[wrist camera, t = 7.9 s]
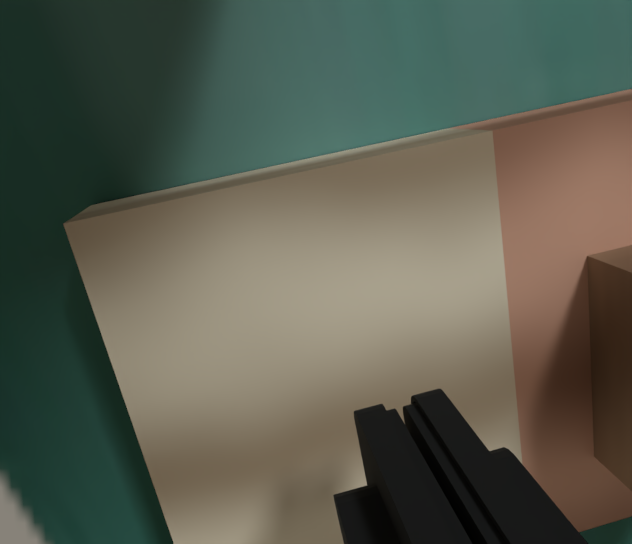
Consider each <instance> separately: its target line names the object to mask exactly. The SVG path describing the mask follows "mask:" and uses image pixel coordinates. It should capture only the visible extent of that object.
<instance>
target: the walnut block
mask: <svg viewBox="0 0 632 544" xmlns="http://www.w3.org/2000/svg"><path fill="white" fill-rule="evenodd" d="M587 265H588V294H589V323H590V353H591V382H592V411H593V440H594V457H595V458H596V459H597V460H598V461H599V462H600V463H601V464H603V465H604V466H605V467H606V468H607V469H608V470H609V471H610V472H611V473H612V474H613V475H615V476H616V477H617V478H618V479H619V480H620V481H621V482H622V483H623V484H624V485H625V486H626V487H628V488H629V489H630V490H631V491H632V245H630V246H626V247H621V248H617V249H613V250H609V251H605V252H601V253H596V254H592V255H588V256H587Z"/></svg>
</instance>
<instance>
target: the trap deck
mask: <svg viewBox="0 0 632 544" xmlns="http://www.w3.org/2000/svg"><path fill="white" fill-rule="evenodd" d="M63 225H64V228H65V231H66V234H67V236H68V239H69V242H70V245H71V248H72V251H73V254H74V257H75V260H76V262H77V265H78V268H79V271H80V274H81V277H82V280H83V283H84V286H85V288H86V291H87V294H88V297H89V300H90V303H91V306H92V309H93V312H94V314H95V317H96V320H97V323H98V326H99V329H100V332H101V335H102V338H103V340H104V343H105V346H106V349H107V352H108V355H109V358H110V361H111V364H112V366H113V369H114V372H115V375H116V378H117V381H118V384H119V387H120V390H121V392H122V395H123V398H124V401H125V404H126V407H127V410H128V413H129V416H130V418H131V421H132V424H133V427H134V430H135V433H136V436H137V439H138V442H139V444H140V447H141V450H142V453H143V456H144V459H145V462H146V465H147V468H148V470H149V473H150V476H151V479H152V482H153V485H154V488H155V491H156V494H157V496H158V499H159V502H160V505H161V508H162V511H163V514H164V517H165V520H166V522H167V525H168V528H169V531H170V534H171V537H172V540H173V543H174V544H344V542H343V537H342V533H341V529H340V525H339V520H338V516H337V511H336V507H335V502H334V496H333V495H334V494H338V493H342V492H345V491H349V490H352V489H356V488H359V487H363V486H367V482H366V476H365V471H364V466H363V461H362V456H361V451H360V446H359V440H358V435H357V430H356V425H355V420H354V411H355V410H359V409H363V408H367V407H371V406H374V405H378V404H383V405H384V407H385V409H386V411H387V410H391V409H394V408H395V409H396V410H397V412H398V413H399V415H400V417H401V419H402V420H403V422H404V416H403V406H406V405H409V404H411V396H412V395H416V394H420V393H424V392H427V391H431V390H435V389H442V390H443V391H444V393H445V394H446V395H447V397H448V398H449V399H450V400H451V402H452V403H453V404H454V406H455V407H456V408H457V410H458V411H459V412H460V414H461V415H462V416H463V417H464V419H465V420H466V421H467V423H468V424H469V425H470V427H471V428H472V429H473V431H474V432H475V433H476V434H477V436H478V437H479V438H480V440H481V441H482V442H483V444H484V445H485V446H486V448H487V449H488V450H489V451H492V450H495V449H499V448H503V447H505V448H507V449H509V450H510V451H511V452H512V453H513V454H514V455H515V456H516V457H517V458H518V460H519V461H520V462H521V463H522V464H523V466H524V467H525V468H526V469H527V471H528V472H529V473H530V474H531V475H532V477H533V478H534V479H535V480H536V481H537V483H538V484H539V485H540V486H541V487H542V489H543V490H544V491H545V492H546V493H547V495H548V496H549V497H550V498H551V499H552V501H553V502H554V503H555V504H556V506H557V507H558V508H559V509H560V510H561V512H562V513H563V514H564V515H565V516H566V518H567V519H568V520H569V521H570V522H571V524H572V525H573V526H574V527H575V528H576V530H577V531H578V532H581V531H585V530H588V529H591V528H595V527H598V526H601V525H605V524H608V523H611V522H614V521H618V520H621V519H624V518H628V517H631V516H632V491H631V490H630V489H629V488H628V487H626V486H625V485H624V484H623V483H622V482H621V481H620V480H619V479H618V478H617V477H616V476H615V475H613V474H612V473H611V472H610V471H609V470H608V469H607V468H606V467H605V466H604V465H603V464H601V463H600V462H599V461H598V460H597V459H596V458H595V457H594V440H593V411H592V382H591V353H590V323H589V294H588V265H587V256H588V255H592V254H596V253H601V252H605V251H609V250H613V249H617V248H621V247H626V246H630V245H632V89H629V90H625V91H620V92H615V93H611V94H606V95H601V96H597V97H592V98H587V99H583V100H578V101H573V102H569V103H564V104H560V105H555V106H550V107H546V108H541V109H536V110H532V111H527V112H522V113H518V114H513V115H508V116H504V117H499V118H494V119H490V120H485V121H480V122H476V123H471V124H466V125H462V126H457V127H452V128H448V129H443V130H438V131H434V132H429V133H425V134H420V135H415V136H411V137H406V138H401V139H397V140H392V141H387V142H383V143H378V144H373V145H369V146H364V147H359V148H355V149H350V150H345V151H341V152H336V153H331V154H327V155H322V156H317V157H313V158H308V159H304V160H299V161H294V162H290V163H285V164H280V165H276V166H271V167H266V168H262V169H257V170H252V171H248V172H243V173H238V174H234V175H229V176H224V177H220V178H215V179H210V180H206V181H201V182H196V183H192V184H187V185H182V186H178V187H173V188H169V189H164V190H159V191H155V192H150V193H145V194H141V195H136V196H131V197H127V198H122V199H117V200H113V201H108V202H103V203H99V204H94V205H91V206H89V207H88V208H86V209H85V210H83V211H82V212H80V213H79V214H77V215H76V216H74V217H73V218H71V219H70V220H68V221H67V222H65V223H64V224H63ZM404 424H405V422H404Z"/></svg>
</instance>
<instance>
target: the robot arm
mask: <svg viewBox="0 0 632 544" xmlns="http://www.w3.org/2000/svg"><path fill="white" fill-rule="evenodd" d="M403 416H404V422H405V424H404V422H403V420H402V419H401V417H400V415H399V413H398V412H397V410H396V409H395V408H394V409H391V410H387V411H386V409H385V407H384V405H383V404H378V405H374V406H371V407H367V408H363V409H359V410H355V411H354V420H355V425H356V430H357V435H358V440H359V446H360V451H361V456H362V461H363V466H364V471H365V476H366V482H367V486H363V487H359V488H356V489H352V490H349V491H345V492H342V493H338V494H334V495H333V496H334V502H335V507H336V511H337V516H338V520H339V525H340V529H341V533H342V537H343V542H344V544H588V543H587V542H586V541H585V539H584V538H583V537H582V536H581V535H580V533H579V532H578V531H577V530H576V528H575V527H574V526H573V525H572V524H571V522H570V521H569V520H568V519H567V518H566V516H565V515H564V514H563V513H562V512H561V510H560V509H559V508H558V507H557V506H556V504H555V503H554V502H553V501H552V499H551V498H550V497H549V496H548V495H547V493H546V492H545V491H544V490H543V489H542V487H541V486H540V485H539V484H538V483H537V481H536V480H535V479H534V478H533V477H532V475H531V474H530V473H529V472H528V471H527V469H526V468H525V467H524V466H523V464H522V463H521V462H520V461H519V460H518V458H517V457H516V456H515V455H514V454H513V453H512V452H511V451H510V450H509V449H507V448H505V447H503V448H499V449H495V450H492V451H489V450H488V449H487V448H486V446H485V445H484V444H483V442H482V441H481V440H480V438H479V437H478V436H477V434H476V433H475V432H474V431H473V429H472V428H471V427H470V425H469V424H468V423H467V421H466V420H465V419H464V417H463V416H462V415H461V414H460V412H459V411H458V410H457V408H456V407H455V406H454V404H453V403H452V402H451V400H450V399H449V398H448V397H447V395H446V394H445V393H444V391H443V390H442V389H435V390H431V391H427V392H424V393H420V394H416V395H412V396H411V404H409V405H406V406H403Z"/></svg>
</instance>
